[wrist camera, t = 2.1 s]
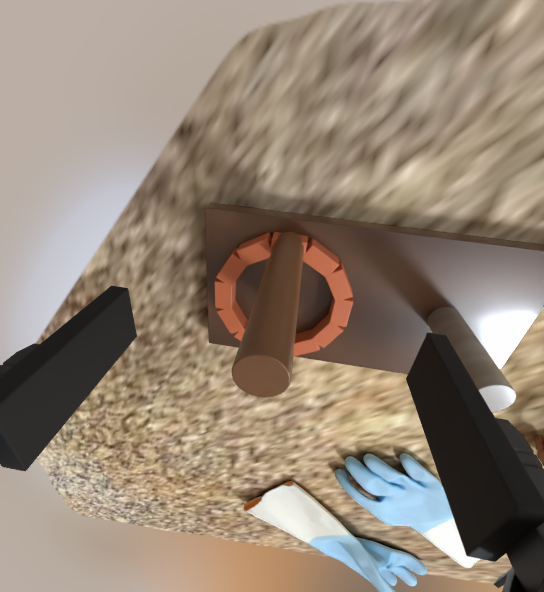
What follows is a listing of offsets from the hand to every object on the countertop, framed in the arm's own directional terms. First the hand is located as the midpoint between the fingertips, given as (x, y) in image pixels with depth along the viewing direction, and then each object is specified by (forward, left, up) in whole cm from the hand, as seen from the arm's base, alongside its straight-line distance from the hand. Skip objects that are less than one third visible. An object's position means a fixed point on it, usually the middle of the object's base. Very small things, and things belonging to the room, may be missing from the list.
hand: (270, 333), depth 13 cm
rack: (+4, +7, -12) cm, 15 cm away
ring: (+4, 0, -11) cm, 12 cm away
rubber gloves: (+42, +19, -12) cm, 48 cm away
